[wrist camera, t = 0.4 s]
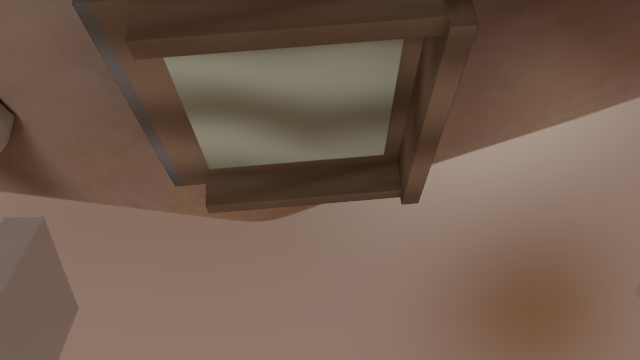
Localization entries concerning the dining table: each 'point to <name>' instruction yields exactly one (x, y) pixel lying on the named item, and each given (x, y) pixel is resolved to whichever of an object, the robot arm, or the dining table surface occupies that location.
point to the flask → (5, 126)
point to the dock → (288, 92)
